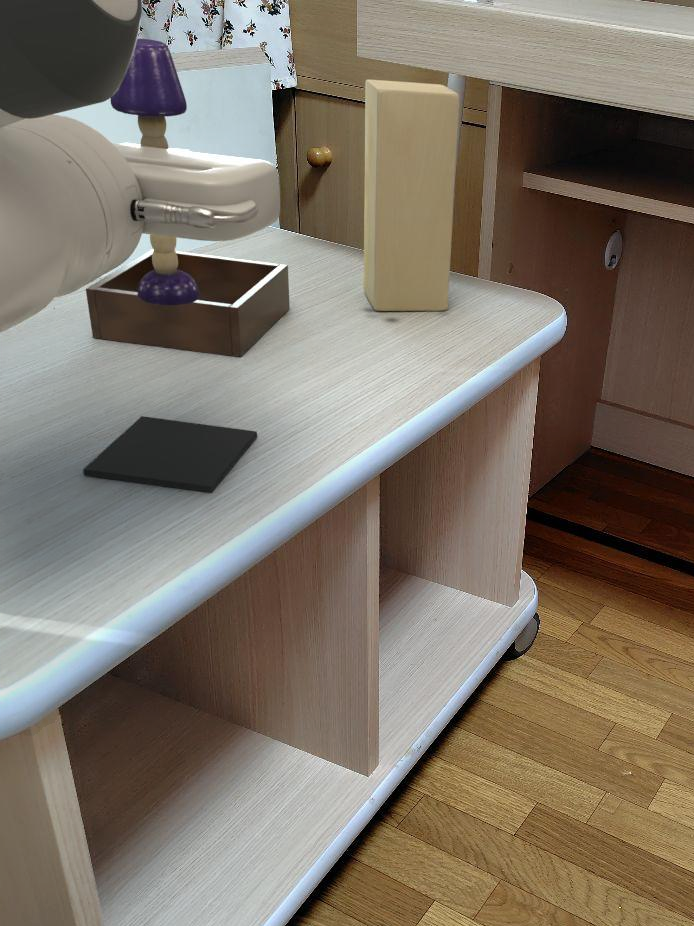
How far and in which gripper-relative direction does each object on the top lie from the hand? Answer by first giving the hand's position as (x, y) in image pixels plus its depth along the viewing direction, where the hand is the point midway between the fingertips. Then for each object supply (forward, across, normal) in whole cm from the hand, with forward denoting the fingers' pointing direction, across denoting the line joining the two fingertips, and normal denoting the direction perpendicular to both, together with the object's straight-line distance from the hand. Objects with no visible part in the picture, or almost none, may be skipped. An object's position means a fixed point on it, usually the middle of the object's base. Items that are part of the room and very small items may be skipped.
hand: (161, 159), depth 67 cm
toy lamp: (-1, 0, +10) cm, 10 cm away
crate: (+20, +7, +19) cm, 28 cm away
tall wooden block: (+34, -10, +19) cm, 40 cm away
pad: (-6, -2, +19) cm, 20 cm away
